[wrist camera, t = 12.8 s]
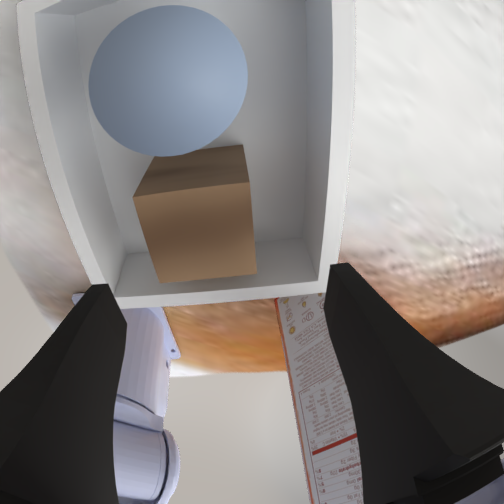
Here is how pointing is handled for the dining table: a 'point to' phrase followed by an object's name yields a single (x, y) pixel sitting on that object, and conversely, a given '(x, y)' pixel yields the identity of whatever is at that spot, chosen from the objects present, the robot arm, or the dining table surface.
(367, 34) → the dining table surface
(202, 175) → the walnut cube
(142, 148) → the blue cylinder
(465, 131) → the dining table surface
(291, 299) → the cracker box
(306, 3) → the tote
